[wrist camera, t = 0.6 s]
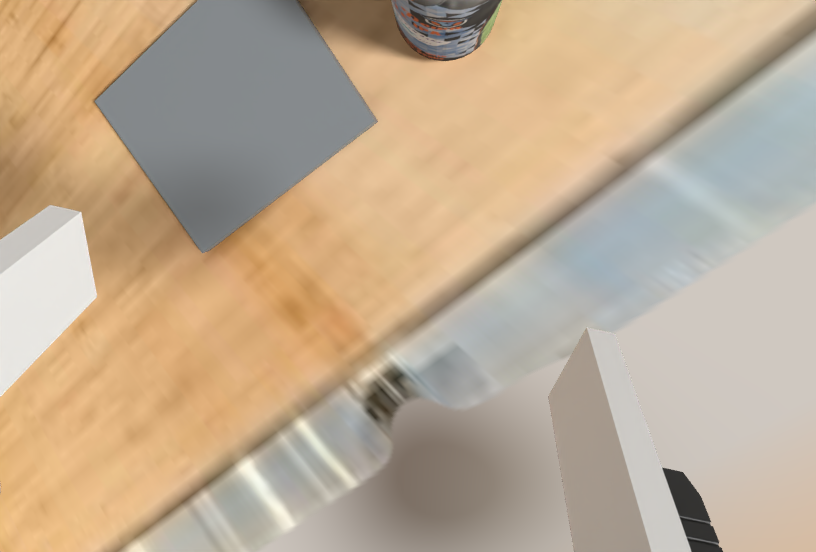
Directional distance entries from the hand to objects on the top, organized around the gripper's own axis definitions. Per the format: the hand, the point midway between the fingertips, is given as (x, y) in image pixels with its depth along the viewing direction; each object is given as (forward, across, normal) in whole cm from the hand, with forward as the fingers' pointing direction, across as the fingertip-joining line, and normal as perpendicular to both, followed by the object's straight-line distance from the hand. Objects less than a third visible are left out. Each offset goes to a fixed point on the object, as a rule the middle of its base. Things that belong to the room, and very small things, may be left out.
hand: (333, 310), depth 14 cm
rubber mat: (+24, -12, -5) cm, 27 cm away
